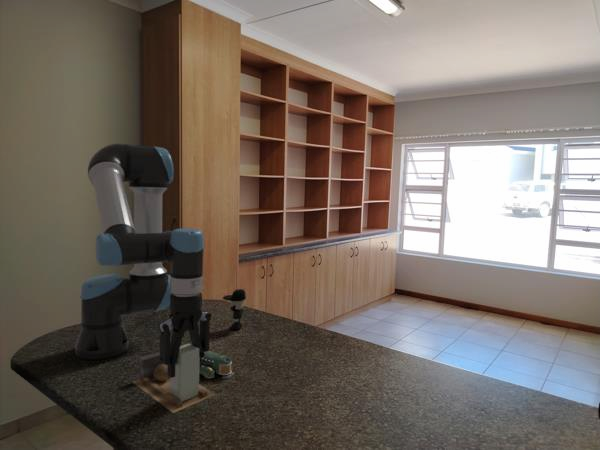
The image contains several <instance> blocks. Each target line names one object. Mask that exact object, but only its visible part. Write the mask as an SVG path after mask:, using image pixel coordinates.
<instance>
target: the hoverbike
mask: <svg viewBox="0 0 600 450" xmlns="http://www.w3.org/2000/svg"><path fill="white" fill-rule="evenodd" d="M204 353H205V355H204V357H202V366H201V367H200V368H199V375H200V376H203V378H204V379H205V380H210V379H214V378H215V376H216V375H215V373H216V374H217V376H219V375H220V376H222V377H221V379H230V378H232V377H233V376H234V375H235V374H234V372H233V371H232V364H233V361H232V359H231V358H229V357H228V356H227V355H223V354H222V353H221V354H220V353H216V352H214V351H210V350H208V351H207V352H206V351H205V352H204Z"/></svg>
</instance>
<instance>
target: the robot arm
mask: <svg viewBox="0 0 600 450" xmlns="http://www.w3.org/2000/svg"><path fill="white" fill-rule="evenodd" d="M87 166H88V167H87V176H88V181H89V182H90V184H91V185H92V186H94V187H93V189H94V193H95V197H96V199H95V200H96V204H97V209H98V210H97V211H98V216H99V221H100V225H101V226H100V227H101V232H102V234H99V235H98V236H96V238H95V258H96V262H97V264H98V265H100V266H118V267H119V266H126V265H133V268H132V269H131V270H129V272H128V273H129V274H128V275H129V276H128V277H126V278H124V277H123V275H122V274H120V273H108V274H107V273H106V274H101V275H96V276H94V277H90V278H88V279H86V280H85V281H84V282H83V283H82V285H81V292H80V300H81V309H80V310H81V318H80V319H81V321H80V322H81V324H80V325H81V328H80V332H79V334H78V337H77V339H76V342H75V346H74V349H75V350H74V353H75V354H74V355H75V356H76V357H78V358H81V359H84V360H102V359H103V360H105V359H108V358H113V357H116V356H119V355H122V354H123V353H125V352H126V351H127V350H128V349H129V338H128V335H127V333H126V329H125V327H124V323H123V319H124V318H123V317H124V316H127V315H128V316H129V315H137V314H145V313H156V312H159V311H163V310H166V309H167V308H168V307H169V308H170V313H169V317H168V319H167V320H165V321H164V322H162V321H160V322H158V324H157V326H158V328H159V332H160V335H159V337H160V338H159V339H160V340H159V352H160V361H161V362H162V363H164V364H165V365H168V369H167V374H168V376H169V377H170V387H171V388H172V389H174V390H175V391H177V390H179V364H178V363H177V358H178V353H179V349H180V346H182V345H181V344H182V340H183V338H184V336H185V333H186V332H188V334H189V337H190V344H191V345H193V346H195V347H197V348H199V368H200V367H201V366H202V357H204V355H205V353H204V352H205V351H206V352H207V351H210V322H211V318H212V313H210V312H207V311H202V307H203V293H202V291H203V277H204V275H203V274H204V270H203V269H204V268H203V267H204V247H205V243H204V233H203V231H202V230H201V229H197V228H196V229H195V228H176V229H173V230H166V231H163V194H164V193H165V192H166V191H167V190H168V185H169V184H171V183H173V181H174V175H175V174H174V172H175V171H174V163H173V158H172V156H171V154H170V151H169V150H167V149H166V148H164V147H160V146H155V145H154V146H153V145H137V144H126V143H111V144H108V145H106V146H104V147H102V148H100V149H98V151H97V152H96V153H94V155H92V157H91V159H90V161H89V163H88V165H87ZM125 182H127V183H128V188H129V189H130V190H131V191H132V192H133V197H134V198H133V199H134V200H133V201H134V202H133V205H134V209H133V210H134V212H133V214H134V216H133V217H132V212H131V209H130V205H129V201H128V197H127V193H126V190H125V186H124V183H125ZM133 220H134V221H133ZM169 262H170V274H168V270H167V269H166V267H164V266H163V263H169ZM171 333H172V334H171ZM171 335H172V336H171Z"/></svg>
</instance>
